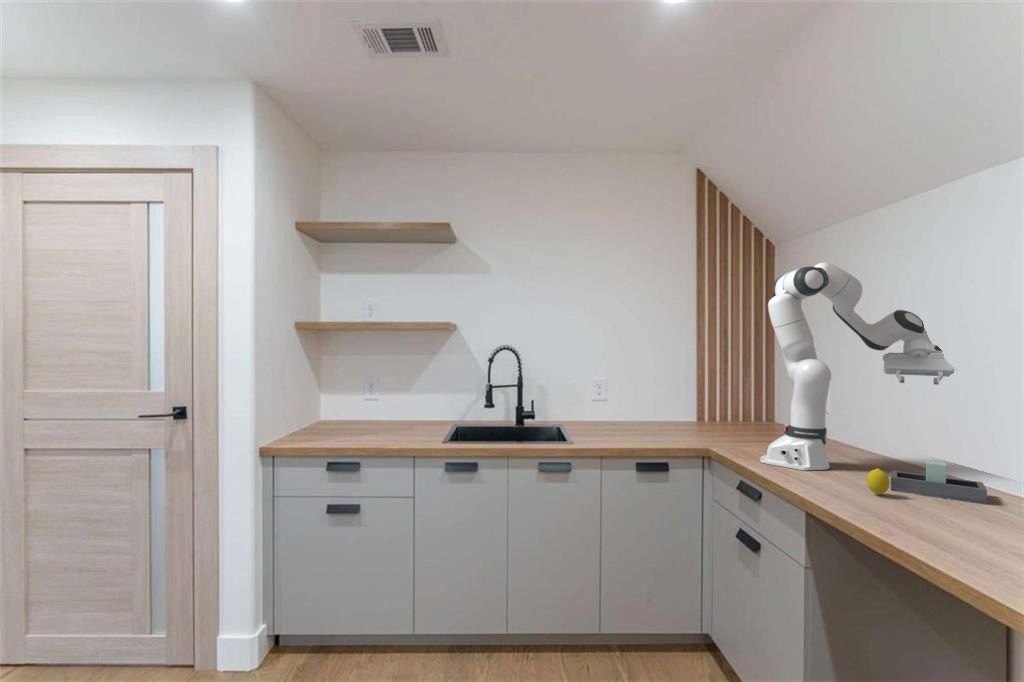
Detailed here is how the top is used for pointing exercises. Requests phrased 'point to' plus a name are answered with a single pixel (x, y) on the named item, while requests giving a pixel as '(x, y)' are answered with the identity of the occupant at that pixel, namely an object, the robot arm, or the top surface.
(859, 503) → the top surface
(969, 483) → the bottom track
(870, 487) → the lemon
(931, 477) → the door block
